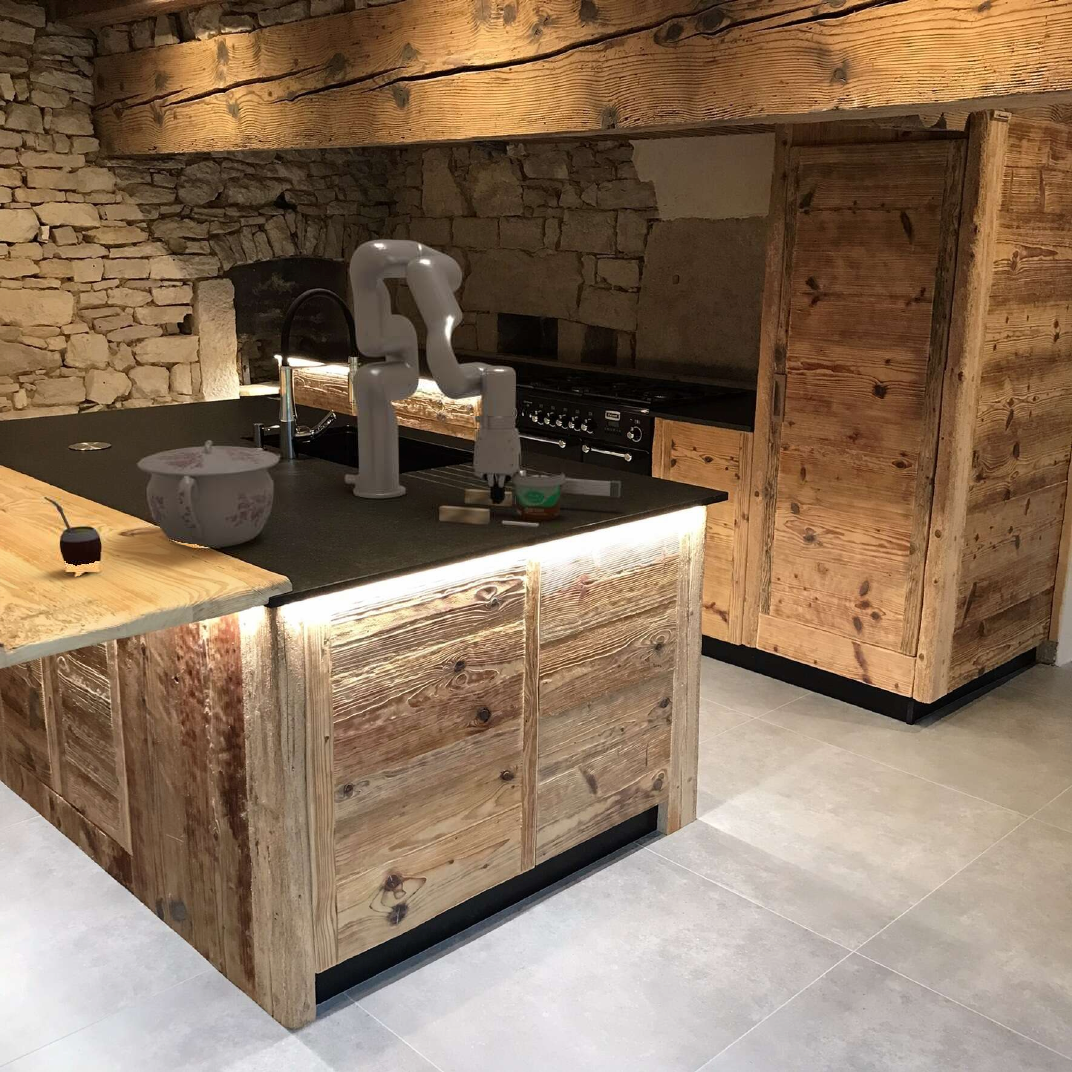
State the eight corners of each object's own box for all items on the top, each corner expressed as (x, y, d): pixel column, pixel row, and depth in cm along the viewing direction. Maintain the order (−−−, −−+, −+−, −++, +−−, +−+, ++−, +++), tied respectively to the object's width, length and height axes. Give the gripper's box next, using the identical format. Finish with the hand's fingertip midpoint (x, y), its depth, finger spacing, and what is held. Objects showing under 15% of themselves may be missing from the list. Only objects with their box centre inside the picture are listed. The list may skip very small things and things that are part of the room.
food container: (511, 521, 241) (511, 477, 239) (510, 515, 247) (510, 471, 244) (566, 522, 242) (567, 477, 239) (564, 515, 248) (565, 472, 245)
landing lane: (502, 524, 239) (502, 521, 239) (522, 507, 255) (522, 504, 255) (537, 526, 237) (537, 524, 237) (555, 509, 253) (556, 507, 253)
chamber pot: (230, 517, 241) (225, 424, 236) (311, 539, 224) (307, 439, 219) (113, 542, 220) (104, 440, 215) (192, 568, 203) (185, 459, 198)
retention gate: (617, 512, 250) (619, 478, 248) (514, 504, 256) (514, 471, 254) (619, 510, 252) (620, 476, 250) (516, 502, 258) (517, 469, 256)
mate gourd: (109, 566, 204) (102, 488, 200) (94, 579, 196) (86, 497, 192) (68, 566, 203) (60, 487, 199) (51, 578, 196) (43, 497, 192)
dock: (439, 520, 241) (439, 507, 240) (467, 501, 260) (467, 488, 259) (486, 524, 238) (486, 511, 238) (512, 504, 257) (512, 492, 256)
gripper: (460, 423, 241) (460, 504, 245) (526, 427, 237) (524, 509, 242) (471, 418, 248) (471, 496, 252) (535, 422, 244) (533, 501, 249)
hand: (497, 502), depth 247 cm, fingers closed
